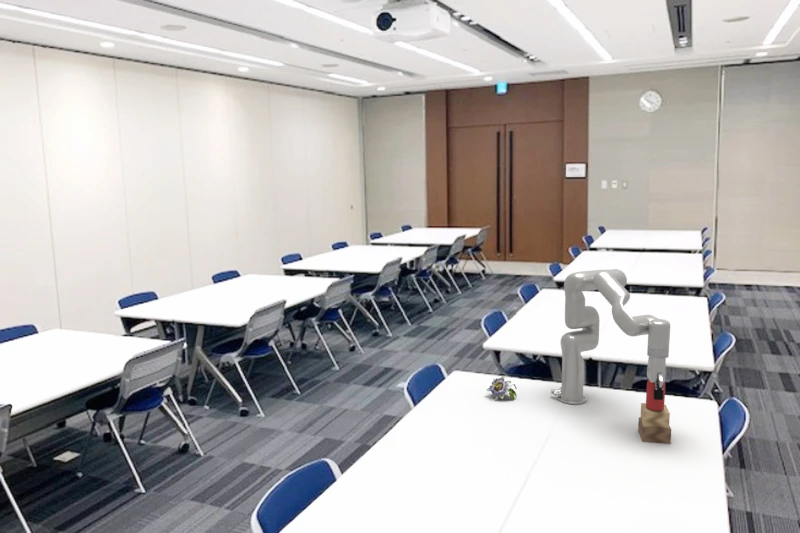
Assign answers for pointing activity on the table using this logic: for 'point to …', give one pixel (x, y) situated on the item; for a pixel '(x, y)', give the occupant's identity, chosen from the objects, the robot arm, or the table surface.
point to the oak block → (654, 417)
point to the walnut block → (654, 434)
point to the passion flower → (501, 388)
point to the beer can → (650, 401)
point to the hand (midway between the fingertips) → (655, 394)
